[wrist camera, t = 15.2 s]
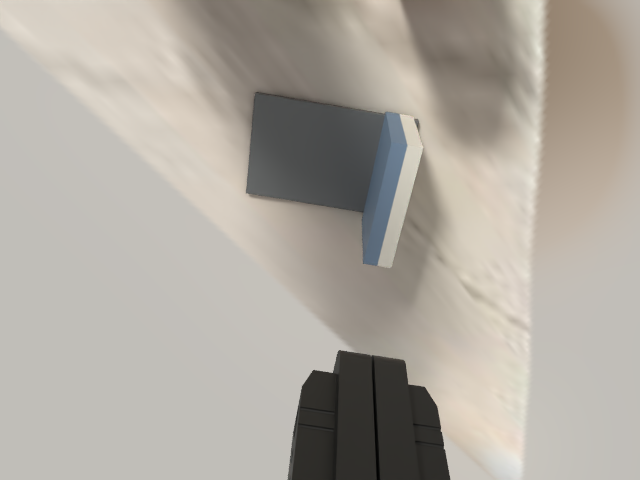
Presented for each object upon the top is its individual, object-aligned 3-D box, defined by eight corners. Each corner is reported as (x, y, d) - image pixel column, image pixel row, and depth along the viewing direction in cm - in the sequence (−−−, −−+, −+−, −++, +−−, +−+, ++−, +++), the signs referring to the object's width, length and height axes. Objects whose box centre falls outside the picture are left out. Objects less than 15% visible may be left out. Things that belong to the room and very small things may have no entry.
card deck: (361, 219, 42) (385, 111, 38) (386, 223, 42) (413, 116, 38) (363, 263, 36) (391, 142, 32) (391, 267, 37) (423, 147, 32)
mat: (255, 92, 38) (254, 93, 37) (418, 119, 38) (418, 121, 38) (246, 190, 42) (246, 193, 41) (393, 214, 42) (394, 217, 42)
